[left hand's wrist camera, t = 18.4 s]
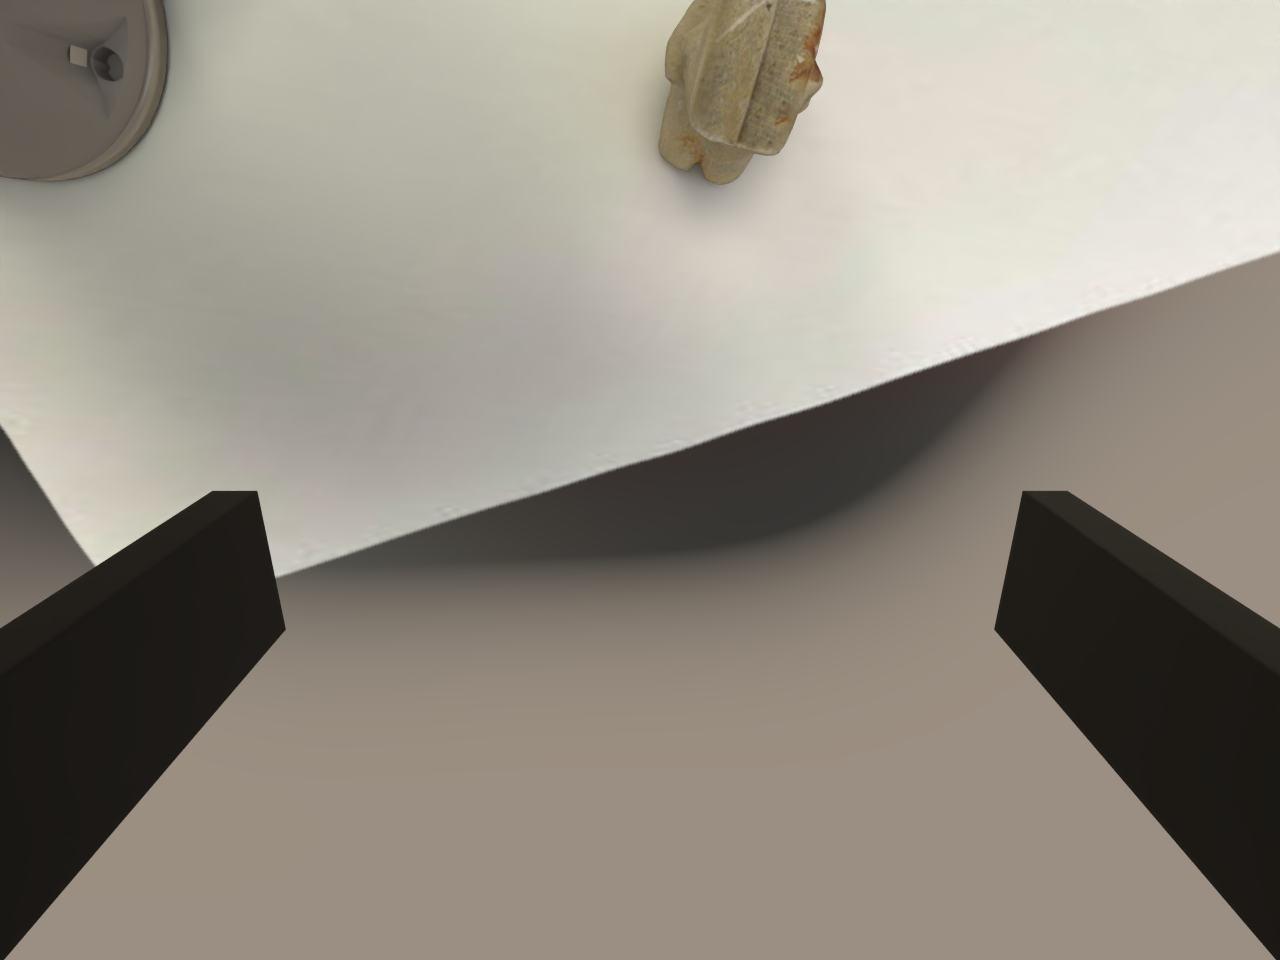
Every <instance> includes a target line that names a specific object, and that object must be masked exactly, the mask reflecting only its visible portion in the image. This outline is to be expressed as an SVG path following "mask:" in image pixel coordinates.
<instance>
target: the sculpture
mask: <svg viewBox="0 0 1280 960" xmlns="http://www.w3.org/2000/svg"><path fill="white" fill-rule="evenodd" d="M825 11H826V1H825V0H695V1H693V3H692V4H691V5H690V7H689V8H688V10H687V11H686V13H685V15H684V16H683V18H682V19H681V21H680V22H679V24H678V25H677V27H676V28H675V30H674V32H673V34H672V35H671V37H670V39H669V41H668V44H667V48H666V58H665V75H666V78H667V79H668V80H669V81H670V82H671V83H672V85H671V89H670V92H669V96H668V100H667V104H666V108H665V112H664V117H663V122H662V128H661V134H660V140H659V151H660V154H661V156H662V157H663V158H664V159H665V160H666V161H667V162H669V163H670V164H672V165H674V166H675V167H677V168H679V169H685V170H688V169H690V168H691V167H692V166H693V165H694V164H695V163H698V164H699V165H701V167H702V170H703V173H704V176H705V178H706V179H707V180H709V181H711V182H714V183H717V184H727V183H730V182H732V181H734V180H735V179H737V178H738V177H739V176H740V174H741V173H742V172H743V171H744V169H745V168H746V166H747V164H748V163H749V161H750V159H751V157H752V155H753V154H760V155H766V156H769V155H775V154H778V153H779V152H780V151H781V149H782V148H783V147H784V145H785V143H786V141H787V139H788V137H789V135H790V132H791V130H792V128H793V126H794V123H795V120H796V117H797V115H798V114H799V113H801V112H802V111H804V110H805V109H806V108H807V107H808V105H809V102H810V99H811V97H812V96H813V95H814V94H815V93H816V92H817V91H818V90H819V89H820V88H821V86H822V83H823V77H822V75H821V72H820V70H819V67H818V65H817V63H816V61H815V58H816V55H817V52H818V47H819V43H820V39H821V35H822V30H823V24H824V18H825Z"/></svg>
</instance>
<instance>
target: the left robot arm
mask: <svg viewBox="0 0 1280 960" xmlns="http://www.w3.org/2000/svg"><path fill="white" fill-rule="evenodd" d="M166 66H167V34H166V26H165V18H164V13H163V8H162V3H161V0H0V176H1V177H6V178H14V179H25V180H43V181H58V180H68V179H74V178H79V177H83V176H87V175H90V174H92V173H95V172H98V171H100V170H102V169H104V168H106V167H108V166H110V165H111V164H113V163H114V162H116V161H117V160H119V159H120V158H122V157H123V156H124V155H125V154H126V153H127V152H128V151H129V150H130V149H132V147H133V146H134V145H135V144H136V143H137V142H138V141H139V139H140V138H141V137H142V135H143V134H144V132H145V131H146V129H147V128H148V126H149V124H150V122H151V120H152V118H153V116H154V114H155V112H156V109H157V107H158V104H159V101H160V98H161V94H162V90H163V86H164V81H165V74H166ZM285 630H286V628H285V623H284V619H283V614H282V609H281V604H280V599H279V594H278V590H277V585H276V580H275V575H274V570H273V565H272V560H271V555H270V551H269V546H268V541H267V536H266V531H265V526H264V521H263V517H262V512H261V507H260V502H259V497H258V492H257V491H212V492H210V493H209V494H207V495H206V496H204V497H203V498H201V499H199V500H198V501H196V502H195V503H193V504H192V505H190V506H189V507H187V508H186V509H184V510H182V511H181V512H179V513H178V514H176V515H175V516H173V517H172V518H170V519H169V520H167V521H165V522H164V523H162V524H161V525H159V526H158V527H156V528H155V529H153V530H152V531H150V532H148V533H147V534H145V535H144V536H142V537H141V538H139V539H138V540H136V541H135V542H133V543H131V544H130V545H128V546H127V547H125V548H124V549H122V550H121V551H119V552H118V553H116V554H115V555H113V556H111V557H110V558H108V559H107V560H105V561H104V562H102V563H101V564H99V565H98V566H96V567H95V568H93V569H91V570H90V571H88V572H87V573H85V574H84V575H82V576H81V577H79V578H77V579H76V580H74V581H73V582H71V583H70V584H68V585H67V586H65V587H64V588H62V589H60V590H59V591H57V592H56V593H54V594H53V595H51V596H50V597H48V598H47V599H45V600H44V601H42V602H40V603H39V604H37V605H36V606H34V607H33V608H31V609H30V610H28V611H27V612H25V613H23V614H22V615H20V616H19V617H17V618H16V619H14V620H13V621H11V622H10V623H8V624H7V625H5V626H3V627H2V628H0V960H4V959H5V958H6V957H7V956H8V954H9V953H10V952H11V951H12V950H13V949H14V947H15V946H16V945H17V944H18V943H19V941H20V940H21V939H22V938H23V937H24V936H25V934H26V933H27V932H28V931H29V930H30V929H31V927H32V926H33V925H34V924H35V923H36V922H37V920H38V919H39V918H40V917H41V916H42V915H43V913H44V912H45V911H46V910H47V909H48V908H49V906H50V905H51V904H52V903H53V902H54V901H55V899H56V898H57V897H58V896H59V895H60V893H61V892H62V891H63V890H64V889H65V888H66V886H67V885H68V884H69V883H70V882H71V881H72V879H73V878H74V877H75V876H76V875H77V873H78V872H79V871H80V870H81V869H82V868H83V867H84V865H85V864H86V863H87V862H88V861H89V859H90V858H91V857H92V856H93V855H94V854H95V852H96V851H97V850H98V849H99V848H100V847H101V845H102V844H103V843H104V842H105V841H106V840H107V838H108V837H109V836H110V835H111V834H112V832H113V831H114V830H115V829H116V828H117V827H118V825H119V824H120V823H121V822H122V821H123V820H124V818H125V817H126V816H127V815H128V814H129V813H130V811H131V810H132V809H133V808H134V807H135V805H136V804H137V803H138V802H139V801H140V800H141V799H142V797H143V796H144V795H145V794H146V793H147V791H148V790H149V789H150V788H151V787H152V786H153V784H154V783H155V782H156V781H157V780H158V779H159V777H160V776H161V775H162V774H163V773H164V771H165V770H166V769H167V768H168V767H169V766H170V765H171V763H172V762H173V761H174V760H175V759H176V757H177V756H178V755H179V754H180V753H181V752H182V750H183V749H184V748H185V747H186V746H187V745H188V743H189V742H190V741H191V740H192V739H193V738H194V736H195V735H196V734H197V733H198V732H199V731H200V729H201V728H202V727H203V726H204V725H205V723H206V722H207V721H208V720H209V719H210V718H211V716H212V715H213V714H214V713H215V712H216V711H217V709H218V708H219V707H220V706H221V705H222V703H223V702H224V701H225V700H226V699H227V698H228V697H229V695H230V694H231V693H232V692H233V691H234V689H235V688H236V687H237V686H238V685H239V684H240V682H241V681H242V680H243V679H244V678H245V677H246V675H247V674H248V673H249V672H250V671H251V670H252V668H253V667H254V666H255V665H256V664H257V663H258V661H259V660H260V659H261V658H262V657H263V655H264V654H265V653H266V652H267V651H268V650H269V648H270V647H271V646H272V645H273V644H274V643H275V641H276V640H277V639H278V638H279V637H280V636H281V634H282V633H283V632H284V631H285ZM994 630H995V631H996V632H997V633H998V634H999V636H1000V637H1001V638H1002V639H1003V640H1004V641H1005V643H1006V644H1007V645H1008V646H1009V647H1010V648H1011V650H1012V651H1013V652H1014V653H1015V654H1016V655H1017V657H1018V658H1019V659H1020V660H1021V661H1022V662H1023V664H1024V665H1025V666H1026V667H1027V668H1028V670H1029V671H1030V672H1031V673H1032V674H1033V675H1034V677H1035V678H1036V679H1037V680H1038V681H1039V682H1040V684H1041V685H1042V686H1043V687H1044V688H1045V689H1046V691H1047V692H1048V693H1049V694H1050V695H1051V696H1052V698H1053V699H1054V700H1055V701H1056V702H1057V704H1058V705H1059V706H1060V707H1061V708H1062V709H1063V711H1064V712H1065V713H1066V714H1067V715H1068V716H1069V718H1070V719H1071V720H1072V721H1073V722H1074V723H1075V725H1076V726H1077V727H1078V728H1079V729H1080V731H1081V732H1082V733H1083V734H1084V735H1085V736H1086V738H1087V739H1088V740H1089V741H1090V742H1091V743H1092V745H1093V746H1094V747H1095V748H1096V749H1097V750H1098V752H1099V753H1100V754H1101V755H1102V756H1103V757H1104V759H1105V760H1106V761H1107V762H1108V763H1109V765H1110V766H1111V767H1112V768H1113V769H1114V770H1115V772H1116V773H1117V774H1118V775H1119V776H1120V777H1121V779H1122V780H1123V781H1124V782H1125V783H1126V784H1127V786H1128V787H1129V788H1130V789H1131V790H1132V791H1133V793H1134V794H1135V795H1136V796H1137V797H1138V799H1139V800H1140V801H1141V802H1142V803H1143V804H1144V806H1145V807H1146V808H1147V809H1148V810H1149V811H1150V813H1151V814H1152V815H1153V816H1154V817H1155V818H1156V820H1157V821H1158V822H1159V823H1160V824H1161V825H1162V827H1163V828H1164V829H1165V830H1166V831H1167V833H1168V834H1169V835H1170V836H1171V837H1172V838H1173V840H1174V841H1175V842H1176V843H1177V844H1178V845H1179V847H1180V848H1181V849H1182V850H1183V851H1184V852H1185V854H1186V855H1187V856H1188V857H1189V858H1190V859H1191V861H1192V862H1193V863H1194V864H1195V865H1196V866H1197V868H1198V869H1199V870H1200V871H1201V872H1202V874H1203V875H1204V876H1205V877H1206V878H1207V879H1208V881H1209V882H1210V883H1211V884H1212V885H1213V886H1214V888H1215V889H1216V890H1217V891H1218V892H1219V893H1220V895H1221V896H1222V897H1223V898H1224V899H1225V900H1226V902H1227V903H1228V904H1229V905H1230V906H1231V908H1232V909H1233V910H1234V911H1235V912H1236V913H1237V915H1238V916H1239V917H1240V918H1241V919H1242V920H1243V922H1244V923H1245V924H1246V925H1247V926H1248V927H1249V929H1250V930H1251V931H1252V932H1253V933H1254V934H1255V936H1256V937H1257V938H1258V939H1259V940H1260V942H1261V943H1262V944H1263V945H1264V946H1265V947H1266V949H1267V950H1268V951H1269V952H1270V953H1271V954H1272V956H1273V957H1274V958H1275V959H1276V960H1280V628H1278V627H1277V626H1275V625H1274V624H1272V623H1270V622H1269V621H1267V620H1266V619H1264V618H1263V617H1261V616H1260V615H1258V614H1257V613H1255V612H1253V611H1252V610H1250V609H1249V608H1247V607H1246V606H1244V605H1243V604H1241V603H1240V602H1238V601H1237V600H1235V599H1233V598H1232V597H1230V596H1229V595H1227V594H1226V593H1224V592H1223V591H1221V590H1220V589H1218V588H1216V587H1215V586H1213V585H1212V584H1210V583H1209V582H1207V581H1206V580H1204V579H1203V578H1201V577H1199V576H1198V575H1196V574H1195V573H1193V572H1192V571H1190V570H1189V569H1187V568H1186V567H1184V566H1182V565H1181V564H1179V563H1178V562H1176V561H1175V560H1173V559H1172V558H1170V557H1169V556H1167V555H1165V554H1164V553H1162V552H1161V551H1159V550H1158V549H1156V548H1155V547H1153V546H1152V545H1150V544H1148V543H1147V542H1145V541H1144V540H1142V539H1141V538H1139V537H1138V536H1136V535H1135V534H1133V533H1132V532H1130V531H1128V530H1127V529H1125V528H1124V527H1122V526H1121V525H1119V524H1118V523H1116V522H1115V521H1113V520H1111V519H1110V518H1108V517H1107V516H1105V515H1104V514H1102V513H1101V512H1099V511H1098V510H1096V509H1094V508H1093V507H1091V506H1090V505H1088V504H1087V503H1085V502H1084V501H1082V500H1081V499H1079V498H1077V497H1076V496H1074V495H1073V494H1071V493H1070V492H1068V491H1023V492H1022V497H1021V502H1020V507H1019V512H1018V517H1017V521H1016V526H1015V531H1014V536H1013V541H1012V546H1011V551H1010V555H1009V560H1008V565H1007V570H1006V575H1005V580H1004V585H1003V589H1002V594H1001V599H1000V604H999V609H998V614H997V619H996V624H995V628H994Z"/></svg>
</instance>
